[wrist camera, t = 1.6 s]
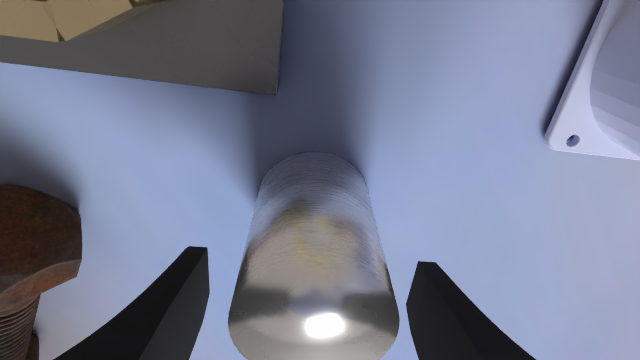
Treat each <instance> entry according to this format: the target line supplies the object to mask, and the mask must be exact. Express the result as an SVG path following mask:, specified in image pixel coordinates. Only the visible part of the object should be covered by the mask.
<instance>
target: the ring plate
mask: <svg viewBox="0 0 640 360" xmlns="http://www.w3.org/2000/svg"><path fill="white" fill-rule="evenodd" d="M284 3H285V0H0V62H4V63H12V64H21V65H29V66H37V67H45V68H53V69H62V70H70V71H78V72H86V73H95V74H103V75H111V76H119V77H128V78H136V79H144V80H152V81H160V82H169V83H177V84H185V85H193V86H202V87H210V88H218V89H226V90H235V91H243V92H251V93H259V94H268V95H276V93H277V89H278V80H279V67H280V54H281V41H282V29H283V16H284Z"/></svg>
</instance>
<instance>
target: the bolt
mask: <svg viewBox="0 0 640 360" xmlns="http://www.w3.org/2000/svg"><path fill="white" fill-rule="evenodd" d="M81 260H82V229H81V218H80V214H79V212H78V211H76V210H75V209H74V208H72V207H71V206H70V205H68V204H67V203H65V202H63V201H62V200H60V199H58V198H55V197H53V196H50V195H47V194H45V193H43V192H40V191H38V190H35V189H32V188H28V187H23V186H14V185H0V360H39V339H38V338H37V337H36V336H34V335H32V334H31V332H32V328H33V325H34V321H35V317H36V312H37V308H38V304H39V299H40V295H41V293H42V292H44V291H47V290H49V289H51V288H53V287H55V286H57V285H60V284H62V283H64V282H66V281H68V280H70V279H72V278H75V277H77V274H78V270H79V267H80V263H81Z"/></svg>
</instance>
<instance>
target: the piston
mask: <svg viewBox="0 0 640 360" xmlns="http://www.w3.org/2000/svg"><path fill="white" fill-rule="evenodd" d="M228 328H229V333H230V336H231V339H232V341H233V343H234V345H235V346H236V348H237V349H238V351H239V352H240V353H241V354H242V355H243V356H244V357H245V358H246V359H247V360H379V359H380V358H381V357H383V356H384V355H385V354H386V352H387V351H388V350H389V349H390V347H391V346H392V344H393V343H394V341H395V338H396V336H397V333H398V329H399V312H398V308H397V304H396V300H395V296H394V292H393V288H392V284H391V280H390V276H389V272H388V268H387V264H386V260H385V256H384V252H383V248H382V244H381V240H380V236H379V232H378V228H377V224H376V221H375V217H374V213H373V209H372V205H371V201H370V197H369V193H368V189H367V186H366V183H365V181H364V179H363V177H362V176H361V174H360V173H359V171H358V170H357V169H356V168H355V167H354V166H353V165H351V164H350V163H349V162H347V161H346V160H344V159H342V158H340V157H338V156H336V155H332V154H329V153H324V152H303V153H298V154H295V155H292V156H289V157H287V158H285V159H283V160H281V161H280V162H278V163H277V164H276V165H274V166H273V167H272V168H271V169H270V170H269V171H268V173H267V174H266V176H265V177H264V179H263V181H262V183H261V186H260V189H259V193H258V197H257V201H256V205H255V209H254V213H253V217H252V221H251V225H250V229H249V234H248V238H247V242H246V246H245V250H244V254H243V258H242V262H241V266H240V270H239V274H238V278H237V283H236V287H235V291H234V295H233V299H232V303H231V307H230V311H229V317H228Z"/></svg>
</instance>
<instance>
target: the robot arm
mask: <svg viewBox="0 0 640 360" xmlns="http://www.w3.org/2000/svg"><path fill="white" fill-rule="evenodd" d="M572 135H574V138H573V139H572V140H571V141H570V142H568V143H566V142H567V139H568V138H569V137H570V136H572ZM544 141H545V144H546V145H547V146H548V147H550V148H551V149H553V150H557V151H566V152H574V153H583V154H591V155H600V156H608V157H617V158H626V159H634V160H640V0H604V1H603V3H602V6H601V8H600V10H599V12H598V15H597V17H596V19H595V22H594V24H593V26H592V29H591V31H590V33H589V35H588V38H587V40H586V42H585V45H584V47H583V49H582V51H581V54H580V56H579V58H578V61H577V63H576V65H575V67H574V70H573V72H572V74H571V77H570V79H569V81H568V83H567V86H566V88H565V90H564V93H563V95H562V97H561V99H560V102H559V104H558V106H557V109H556V111H555V113H554V115H553V118H552V120H551V122H550V125H549V127H548V129H547V131H546V134H545V137H544ZM209 293H210V292H209V272H208V251H207V247H192V246H189V247H187V248H186V249H185V250H184V251H183V252H182V253H181V254H180V255H179V257H178V258H177V259H176V260H175V261H174V262H173V263H172V264H171V265H170V266H169V267H168V268H167V269H166V270H165V271H164V272H163V273H162V274H161V275H160V276H159V277H158V278H157V279H156V280H155V281H154V282H153V283H152V284H151V285H150V286H149V287H148V288H147V289H146V290H145V291H144V292H143V293H142V294H140V295H139V296H138V297H137V298H136V299H135V300H134V301H133V302H131V303H130V304H129V305H128V306H127V307H126V308H125V309H123V310H122V311H121V312H120V313H119V314H117V315H116V316H115V317H114V318H112V319H111V320H110V321H109V322H107V323H106V324H105V325H103V326H102V327H101V328H99V329H98V330H97V331H95V332H94V333H93V334H91V335H90V336H88V337H87V338H85V339H84V340H83V341H81V342H80V343H78V344H77V345H75V346H74V347H72V348H71V349H69V350H68V351H66V352H65V353H63V354H62V355H60V356H58V357H57V358H55V359H53V360H189V358H190V355H191V352H192V350H193V347H194V344H195V342H196V339H197V336H198V333H199V331H200V328H201V325H202V322H203V318H204V314H205V310H206V306H207V302H208V297H209ZM406 307H407V313H408V320H409V325H410V331H411V335H412V338H413V342H414V345H415V348H416V352H417V355H418V358H419V360H536V359H534V358H533V357H532V356H531V355H529V354H528V353H527V352H526V351H525V350H523V349H522V348H521V347H520V346H519V345H517V344H516V343H515V342H514V341H512V340H511V339H510V338H509V337H508V336H507V335H506V334H505V333H503V332H502V331H501V330H500V329H499V328H498V327H497V326H496V325H495V324H494V323H493V322H492V321H491V320H490V319H488V318H487V317H486V316H485V315H484V314H483V313H482V312H481V311H480V310H479V309H478V308H477V307H476V306H475V304H474V303H473V302H472V301H471V300H470V299H469V298H468V297H467V296H466V295H465V294H464V293H463V292H462V291H461V290H460V289H459V287H458V286H457V285H456V284H455V283H454V282H453V281H452V280H451V279H450V278H449V276H448V275H447V274H446V273H445V272H444V271H443V270H442V269H441V268H440V267H439V266H438V265H437V263H436V262H421V261H418V264H417V268H416V271H415V275H414V278H413V282H412V285H411V289H410V292H409V296H408V299H407V303H406Z"/></svg>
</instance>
